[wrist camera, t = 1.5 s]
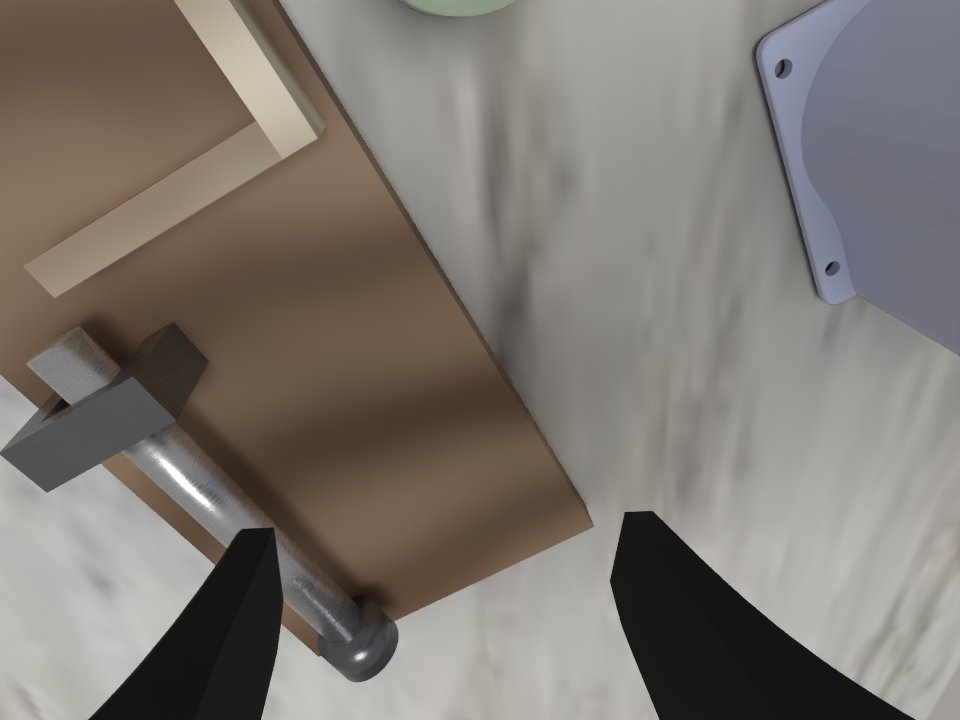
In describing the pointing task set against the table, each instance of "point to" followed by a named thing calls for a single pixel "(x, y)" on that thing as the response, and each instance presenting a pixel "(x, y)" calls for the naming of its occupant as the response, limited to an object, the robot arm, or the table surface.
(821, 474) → the table surface
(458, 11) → the cylinder
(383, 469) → the walnut base with seat
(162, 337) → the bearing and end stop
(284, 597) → the steel shaft
